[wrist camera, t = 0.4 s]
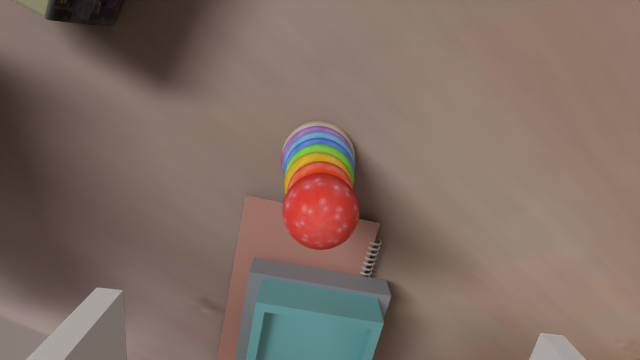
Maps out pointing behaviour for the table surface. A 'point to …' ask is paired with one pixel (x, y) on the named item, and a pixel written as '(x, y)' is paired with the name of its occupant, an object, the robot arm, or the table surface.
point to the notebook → (284, 258)
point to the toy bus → (75, 10)
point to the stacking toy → (319, 185)
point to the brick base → (310, 313)
